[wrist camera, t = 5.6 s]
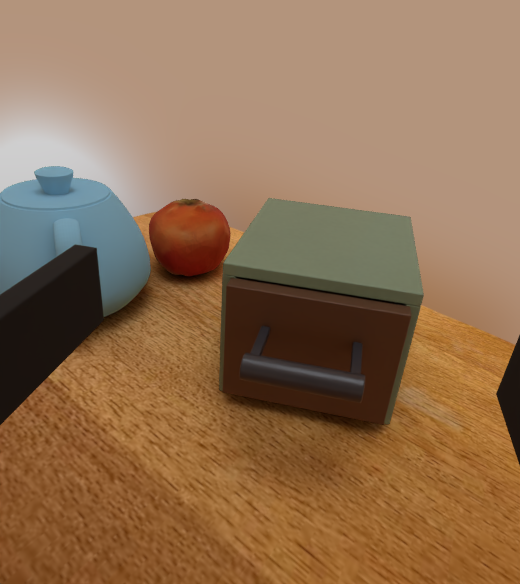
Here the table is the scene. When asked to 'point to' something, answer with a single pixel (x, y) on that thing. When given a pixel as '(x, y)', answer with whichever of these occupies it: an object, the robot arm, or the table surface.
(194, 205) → the tomato
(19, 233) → the teapot
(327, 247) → the cabinet
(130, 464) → the table surface
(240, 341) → the drawer
